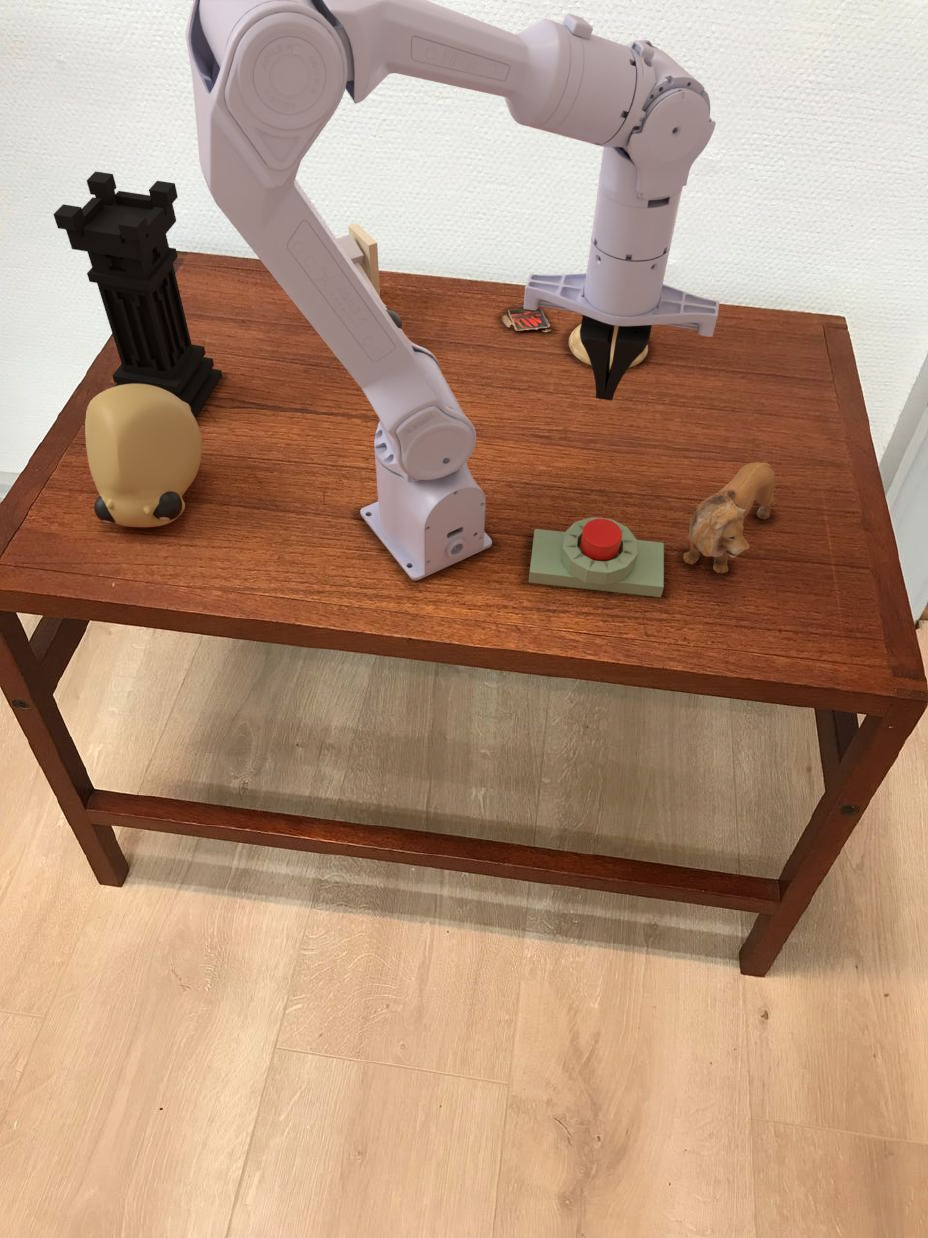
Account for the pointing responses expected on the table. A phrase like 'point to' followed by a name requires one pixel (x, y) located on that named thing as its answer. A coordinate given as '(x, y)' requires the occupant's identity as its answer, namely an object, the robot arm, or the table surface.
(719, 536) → the lion figurine
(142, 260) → the chess piece
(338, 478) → the table surface
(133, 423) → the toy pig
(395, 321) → the tap lever
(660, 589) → the button box
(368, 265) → the lever stand
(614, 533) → the button
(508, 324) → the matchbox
